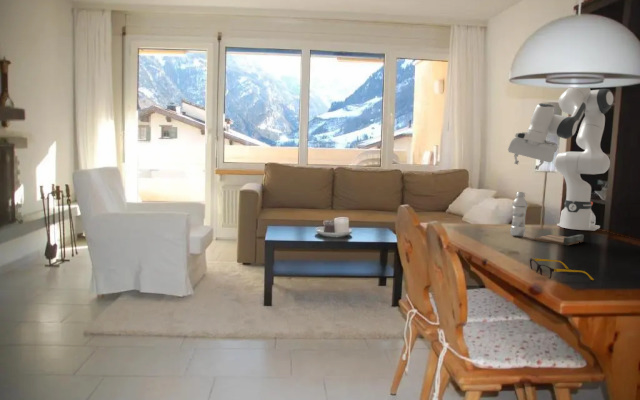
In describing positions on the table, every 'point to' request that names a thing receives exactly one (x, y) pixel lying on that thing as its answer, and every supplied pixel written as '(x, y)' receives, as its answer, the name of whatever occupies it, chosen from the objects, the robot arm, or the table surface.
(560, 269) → the eyeglasses
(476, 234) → the table surface
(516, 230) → the plastic bottle
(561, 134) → the robot arm
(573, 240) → the walnut board
